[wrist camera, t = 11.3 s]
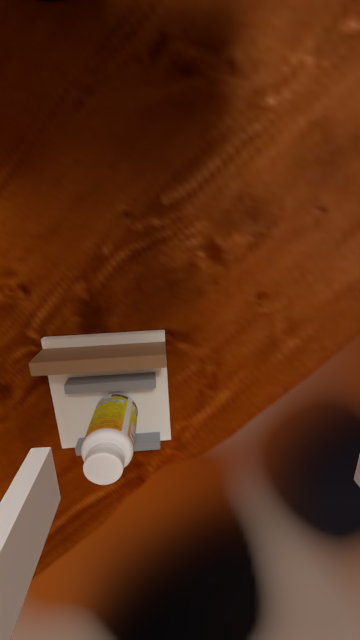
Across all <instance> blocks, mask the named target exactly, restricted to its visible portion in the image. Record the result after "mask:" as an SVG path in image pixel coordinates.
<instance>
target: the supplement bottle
mask: <svg viewBox="0 0 360 640" xmlns="http://www.w3.org/2000/svg"><path fill="white" fill-rule="evenodd" d="M137 416H138V409H137V405H136V403H135V402H134V400H133V399H132V398H130V397H129V396H127V395H125V394H122V393H111V394H108V395H106V396H104V397H103V398H101V399H100V400H99V402H98V403H97V405H96V408H95V410H94V413H93V416H92V419H91V421H90V424H89V427H88V430H87V433H86V435H85V438H84V441H83V444H82V448H81V455H82V459H83V461H84V465H83V472H84V475H85V476H86V478H87V479H88V480H90V481H91V482H93V483H95V484H99V485H107V484H111V483H114V482H115V481H117V480H118V479H119V478H120V477H121V475H122V473H123V468H125V467H126V466H127V465H128V464H129V462H130V461H131V459H132V456H133V452H134V443H135V434H136V425H137Z"/></svg>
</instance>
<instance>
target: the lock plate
mask: <svg viewBox="0 0 360 640" xmlns="http://www.w3.org/2000/svg"><path fill="white" fill-rule="evenodd" d="M41 344H42V350H41V351H40V352H39V353H38V354H37V355H36V356H35V357H34V358H33V359H32V360H31V361H30V362H29V363H28V364H29V369H30V373H31V376H45V375H48V379H49V384H50V390H51V395H52V400H53V405H54V410H55V415H56V420H57V425H58V430H59V435H60V440H61V446H62V448H74V447H75V452H76V456H82V455H81V448H82V444H83V441H84V438H85V435H86V433H87V430H88V427H89V424H90V421H91V419H92V416H93V413H94V410H95V408H96V405H97V403H98V402H99V400H100V399H101V398H103V397H104V396H106V395H108V394H111V393H122V394H125V395H127V396H129V397H130V398H132V399H133V400H134V402H135V403H136V405H137V409H138V416H137V425H136V434H135V443H134V451H144V450H157V449H160V441H163V440H171V430H170V413H169V396H168V379H167V362H166V345H165V330H151V331H135V332H118V333H101V334H84V335H67V336H50V337H43V338H42V339H41Z"/></svg>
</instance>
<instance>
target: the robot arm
mask: <svg viewBox="0 0 360 640" xmlns="http://www.w3.org/2000/svg"><path fill="white" fill-rule="evenodd" d="M46 1H57V0H46ZM354 480H355V481H356V483H357V484H358V485H359V487H360V455H359V459H358V464H357V468H356V472H355V476H354ZM60 499H61V497H60V491H59V486H58V481H57V476H56V471H55V466H54V461H53V455H52V450H51V447H44V448H31V449H30V451H29V453H28V455H27V457H26V458H25V460H24V462H23V464H22V465H21V467H20V469H19V471H18V472H17V474H16V476H15V478H14V479H13V481H12V483H11V485H10V487H9V488H8V490H7V492H6V494H5V495H4V497H3V499H2V501H1V502H0V640H10V639H11V636H12V633H13V631H14V628H15V625H16V622H17V619H18V617H19V614H20V611H21V608H22V605H23V603H24V600H25V597H26V594H27V591H28V588H29V586H30V583H31V580H32V578H33V575H34V572H35V569H36V566H37V564H38V561H39V558H40V555H41V552H42V550H43V547H44V544H45V541H46V538H47V536H48V533H49V530H50V527H51V524H52V522H53V519H54V516H55V513H56V511H57V508H58V505H59V502H60Z"/></svg>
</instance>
